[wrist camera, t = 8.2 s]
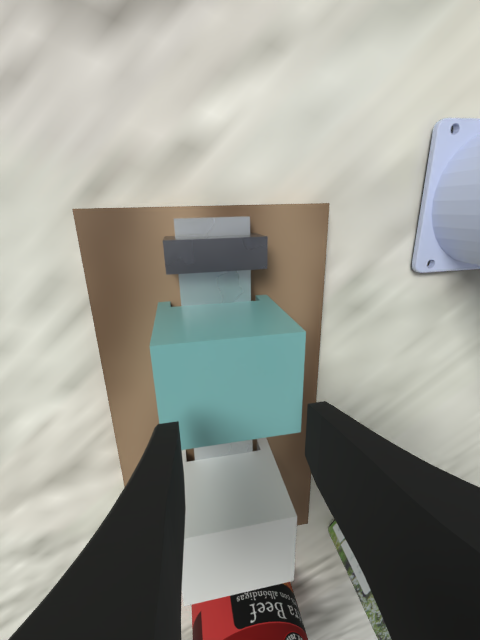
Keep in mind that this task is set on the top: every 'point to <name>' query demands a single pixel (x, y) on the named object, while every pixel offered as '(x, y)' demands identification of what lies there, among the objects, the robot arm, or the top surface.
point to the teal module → (228, 371)
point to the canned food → (250, 616)
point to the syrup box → (359, 582)
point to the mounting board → (155, 286)
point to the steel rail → (215, 275)
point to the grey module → (236, 525)
